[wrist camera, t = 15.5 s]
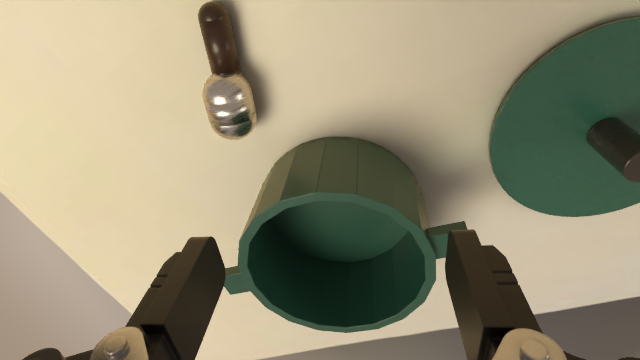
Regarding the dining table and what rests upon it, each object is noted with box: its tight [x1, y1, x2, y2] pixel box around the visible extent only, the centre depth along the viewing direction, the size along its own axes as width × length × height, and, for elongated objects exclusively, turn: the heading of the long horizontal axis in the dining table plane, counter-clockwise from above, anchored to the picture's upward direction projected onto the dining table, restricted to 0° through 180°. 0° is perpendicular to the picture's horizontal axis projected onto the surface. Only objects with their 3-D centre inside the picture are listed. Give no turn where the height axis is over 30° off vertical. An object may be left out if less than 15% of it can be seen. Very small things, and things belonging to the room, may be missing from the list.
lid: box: [489, 17, 640, 217], centre depth 26 cm, size 17×17×6 cm
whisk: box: [198, 2, 257, 140], centre depth 28 cm, size 10×4×4 cm, turn 5°
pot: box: [224, 137, 467, 333], centre depth 32 cm, size 16×21×8 cm
